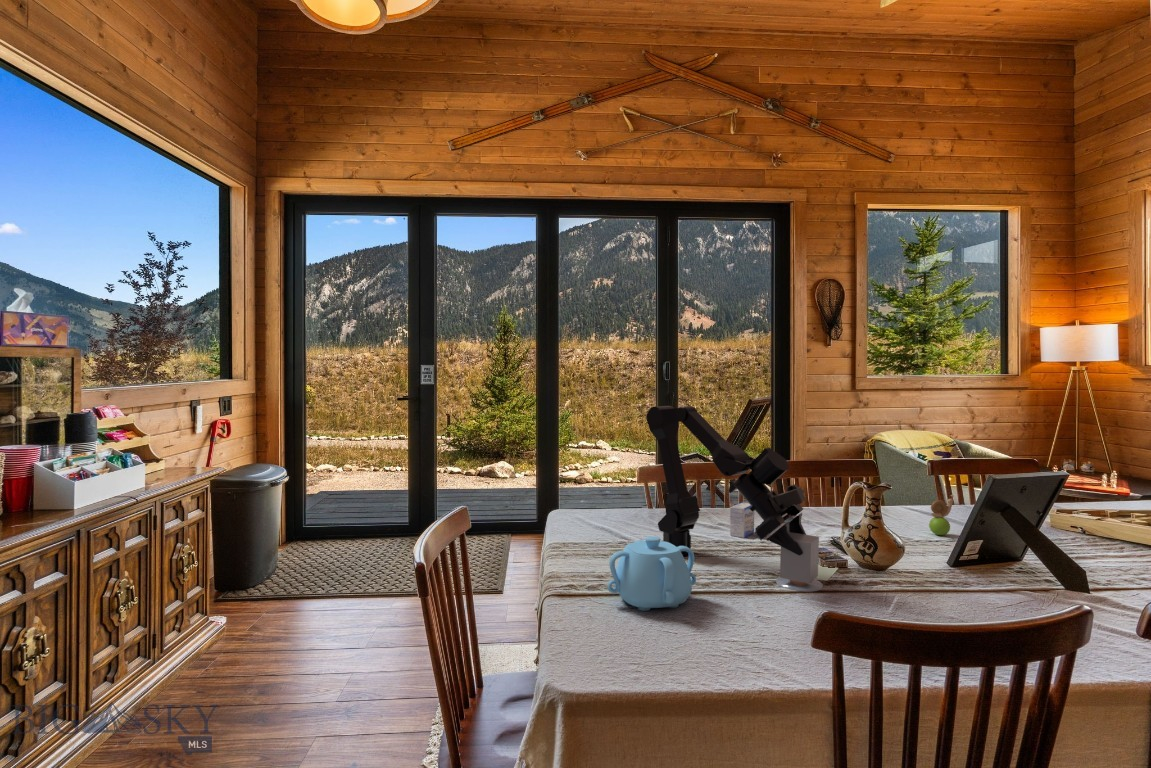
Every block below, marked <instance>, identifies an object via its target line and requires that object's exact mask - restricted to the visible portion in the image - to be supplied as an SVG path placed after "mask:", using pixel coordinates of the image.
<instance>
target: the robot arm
mask: <svg viewBox="0 0 1151 768" xmlns="http://www.w3.org/2000/svg"><path fill="white" fill-rule="evenodd" d="M645 416H646V417H645V419H646V422H647V425H648V428H649V432H650V433H651V434H652V436H653V437H654V438H655V439H656V441H657V443H658V448H659V454H660V459H661V463H662V468H663V474H664V478H665V483H666V488H667V493H668V495H667V498H666V501H665V506H664V508H665V515H664V516H663V517H662V518H661V519H659V521H658V522H657V527H658V530H659V532H662V537H663V538H662V539H663V540H662V541H665V542H668V543H671V544H673V545H674V546H676V547H678V546H686V547H688V548H690V549H691V550H692V546H691V545H692V536H691V534H690V533H691V531H690V530H693V529H694V527H695V525H696V523H697V521H698V519H699V518H700V512H701V509H700V507H699V504H698V503H699V502H698V497H697V495H691V493H690V492H689V491H688V487H687V484H686V483H687V482H686V479H685V474H684V470H683V464H682V460H681V455H680V451H679V446H678V440H677V434H678V431H679V428H680V424H679V423H682V424H683V425H684V427H686V428H687V430H689V432H690V433H692V435H693V436H694V437H695V439H697V441H699V442H700V443H701V444H702V445H703V447H705V448H706V450H707V451H708V452H709V453H710V455H711V458H712V462H713V463H714V465H715V466H716V469H717V470H718V471H719V472H720V474H721V475H722V476H724V477H732V476H738V475H739V477H737V478H736V479H735V478H733V479H730V480H729V481H728V484H729V486H728V493H730V494H732V493H733V492H735V491H738V492H739V494H740V495H741V496H742V497H743V498H744V499H745V500H746V501H747V503H749V504H750V505H751V506H752V507H751V508H750V510H751V511H752V512H753V511H754V512H756V513H757V514H758V516H759V517H760V518H761V520H762V522H761V523H760V524H759V525H757V526H756V527H754V534H755V536H756V537H757V538H758V540H760V541H762V540H766V541H767V542H771V543H773V544H776V545H777V546H779V547H780V548H781V547H783V548H785V549H787V550H789V551H791V552H793V553H795V554H797V555H799V556H800V555H801V554H803V551H802V550H801V548H800V546H799V545H798V543H797V542H796V541H795V539H794V538H793V536H792V535H791V533H790V532H793V533H799V534H805V535H807V532H806V531H805V529H804V527H803V525H802V524H803V523H802V518H803V517H802V516H803V513H802V511H804V508H803V506H802V505H801V504H803V503H804V501H807V498H806V495H805V492H806V491H805V490H804V489H803V488H802V487H801V486H798V485H797V484H796V483H794V484H791V485H789V486H787V491H784V492H782V493H778V492H777V490H770V488H769V487H768V486H769V485H772V484H774V483H775V482H776V481H777V480H778V479H779V478H780V477H781V476H782V475H783V474H785V473H786V472H787V471H788V470H789V467H790V466H789V463H788V461H787V460H786V458H785V457H784V456H782V455H781V454H780V453H778V452H776V451H774V450H773V449H772V448H771V447H765V448H763V450H761V452H760V453H759V454H758V455H757V456H756V457H752V456H750V455H749V454H748V453H747V452H746V451H745V450H744V449H742V448H741V447H739V446H737V445H735V444H733V443H731V442H729V441H728V440H726V439H725V438H724V437H723V436H722V435H721V434H720V433H719V432H718V431H717V430H716V429H715V428H714V427H713V426H712V425H711V424H710V423H709V422H708V421H707V419H705V418H704V417H703V416H702V415H701V414H700V413H699V412H698V409H697V408H696V407H695V406H692V405H686V406H680V407H676V408H675V407H674V406H671V405H663V406H662V405H661V406H659V405H658V406H652V407H650V408H649V409H648V411H647V413H646V415H645ZM749 470H750V471H749ZM748 471H749V473H747V472H748ZM767 485H768V486H767ZM767 536H768V537H767ZM766 537H767V538H766ZM681 553H682V555H683V557H686V556H687V557H688V556H689V554H688V552H686V551H681Z"/></svg>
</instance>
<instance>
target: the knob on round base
mask: <svg viewBox="0 0 1151 768" xmlns="http://www.w3.org/2000/svg"><path fill="white" fill-rule="evenodd" d="M775 582H776V584H777V585H778V586H780V587H782V588H784V589H787V590H790V591H795V592H796V591H797V592H809V593H810V592H817V591H821V590H822V589H823V583H822V582H821V581H819V579H816V578H815V579H814V580H813V581H812V582H811V583H810V584H808V583H804V582H799V581H794V580H789V579H784V578H780V576H779V577H777V578H776V580H775Z"/></svg>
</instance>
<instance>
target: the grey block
mask: <svg viewBox="0 0 1151 768" xmlns="http://www.w3.org/2000/svg"><path fill="white" fill-rule="evenodd" d="M790 533H791V535H792V536H793V538H794V539H795V541H796V542H797V543H798V545H799V546H800V548H801V550H802V551H803V554H801V555H800V556H799V555H797V554H795V553H793V552H791V551H789V550H787V549H785V548H783V547H781V546H780V565H779V568H780V569H779V577H780V578H784V579H789V580H794V581H799V582H804V583H808V584H810V583H811V582H812V581H813V580H814V579H815V580H816V577H817V576H818V564H819V551H820V550H819V546H820V545H819V544H820V543H819V541H820V536H815V535H810V534H806V535H805V534H799V533H793V532H790Z"/></svg>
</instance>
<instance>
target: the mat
mask: <svg viewBox="0 0 1151 768" xmlns="http://www.w3.org/2000/svg"><path fill="white" fill-rule="evenodd" d="M820 565H821V564H819V563H818V576H817V577H816V578H815V580H822V581H827V582H828V581H829V580H830V578H832V576H833V575H834V574H835V573H836V571H837V570H839V567H835V568H828V567H822V566H820Z"/></svg>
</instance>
